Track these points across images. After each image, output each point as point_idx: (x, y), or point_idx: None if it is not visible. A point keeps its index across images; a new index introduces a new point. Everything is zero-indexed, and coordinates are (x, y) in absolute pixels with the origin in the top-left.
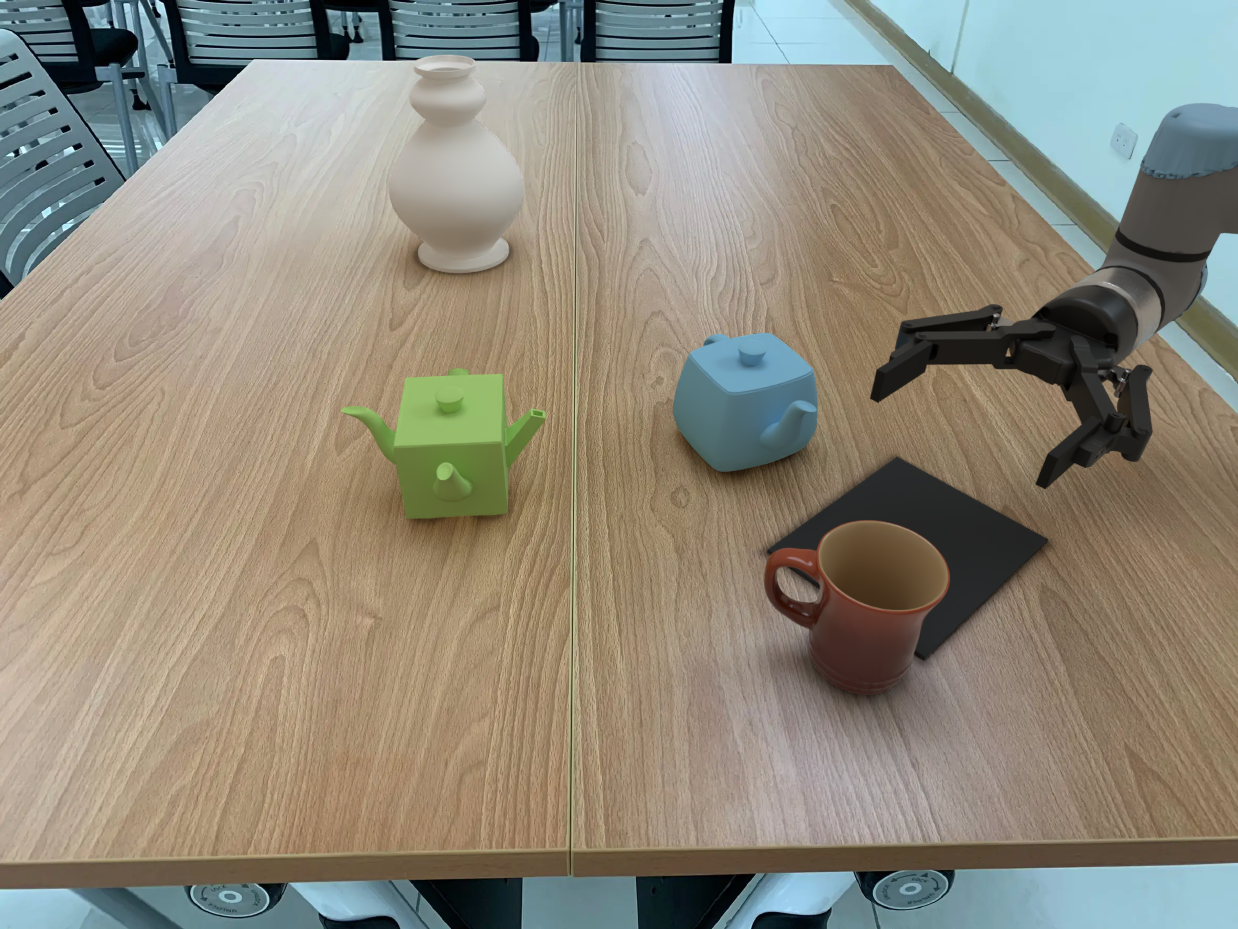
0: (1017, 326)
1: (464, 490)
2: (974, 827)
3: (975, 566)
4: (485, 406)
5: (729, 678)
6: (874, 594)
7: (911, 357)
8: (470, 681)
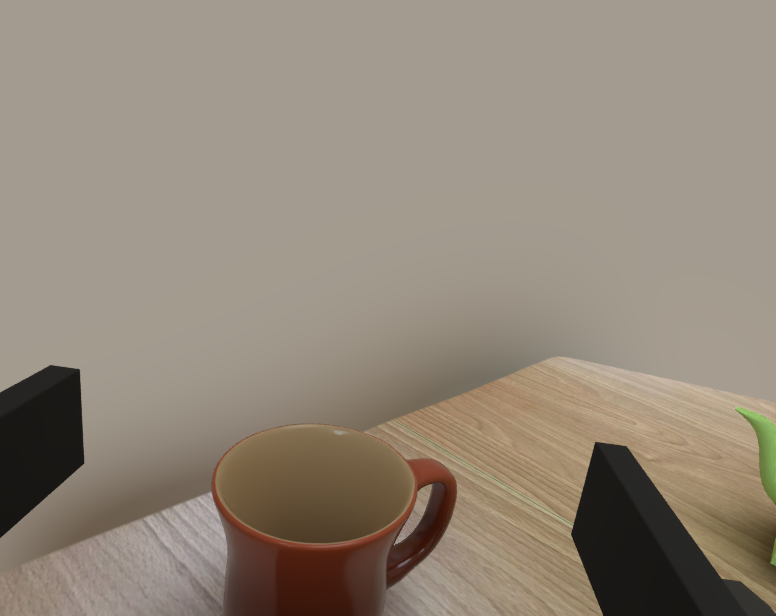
0: None
1: (763, 473)
2: (106, 541)
3: None
4: None
5: None
6: None
7: (657, 546)
8: (549, 456)
